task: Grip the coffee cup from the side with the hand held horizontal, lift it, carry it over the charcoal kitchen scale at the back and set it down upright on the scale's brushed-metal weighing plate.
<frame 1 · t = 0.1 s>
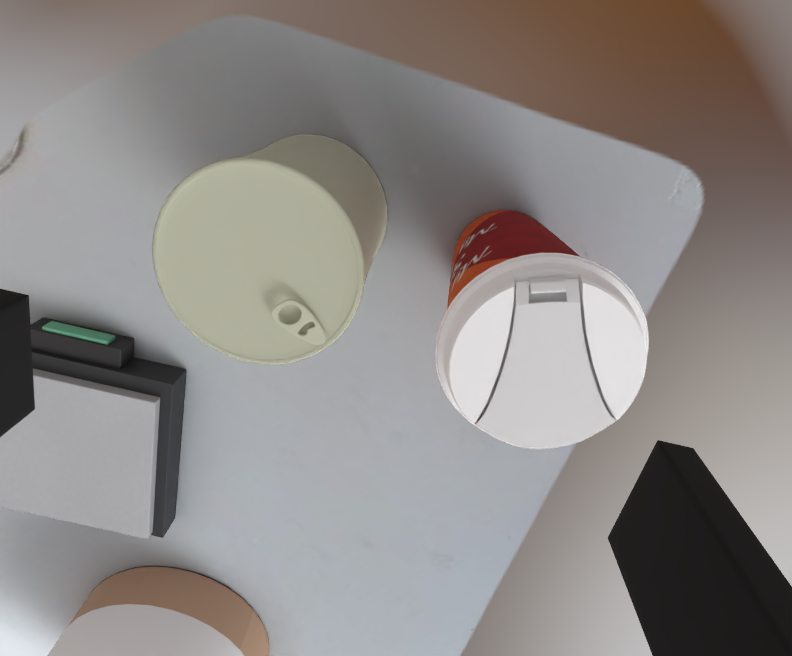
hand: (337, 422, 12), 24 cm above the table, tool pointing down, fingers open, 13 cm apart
scale: (89, 427, 41), on the table
coffee cup: (501, 257, 34), on the table
can: (313, 212, 34), on the table
bowl: (178, 633, 50), on the table
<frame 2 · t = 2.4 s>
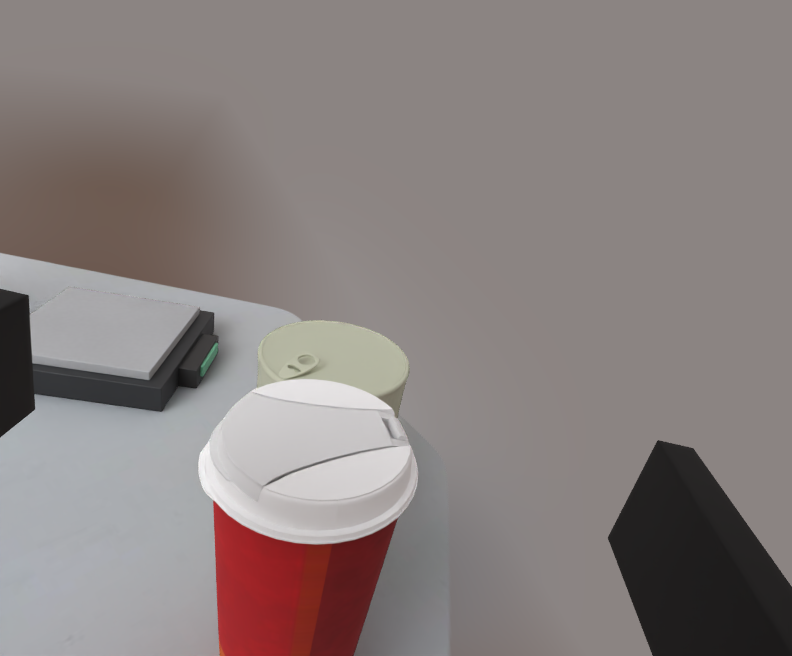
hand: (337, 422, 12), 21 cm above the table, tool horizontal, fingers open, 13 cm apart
scale: (111, 354, 49), on the table
can: (314, 499, 38), on the table
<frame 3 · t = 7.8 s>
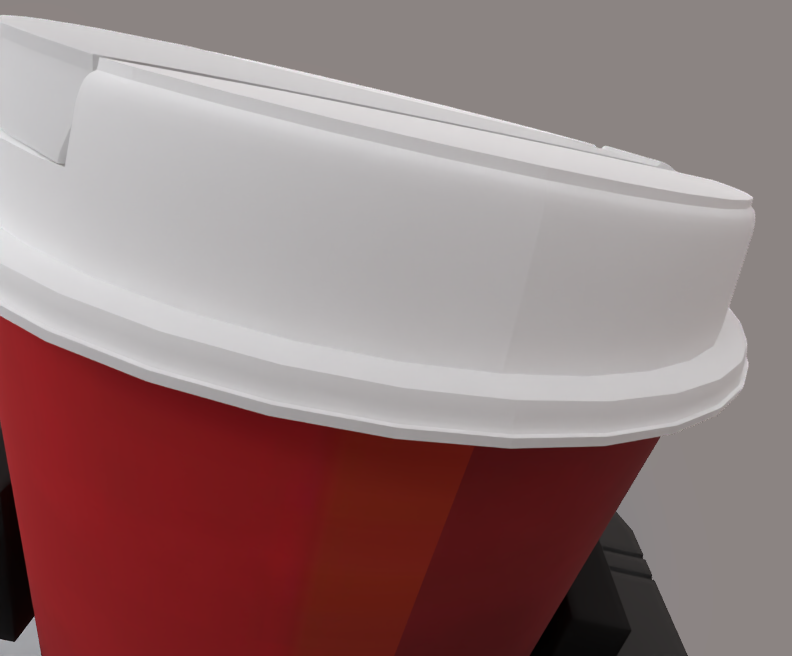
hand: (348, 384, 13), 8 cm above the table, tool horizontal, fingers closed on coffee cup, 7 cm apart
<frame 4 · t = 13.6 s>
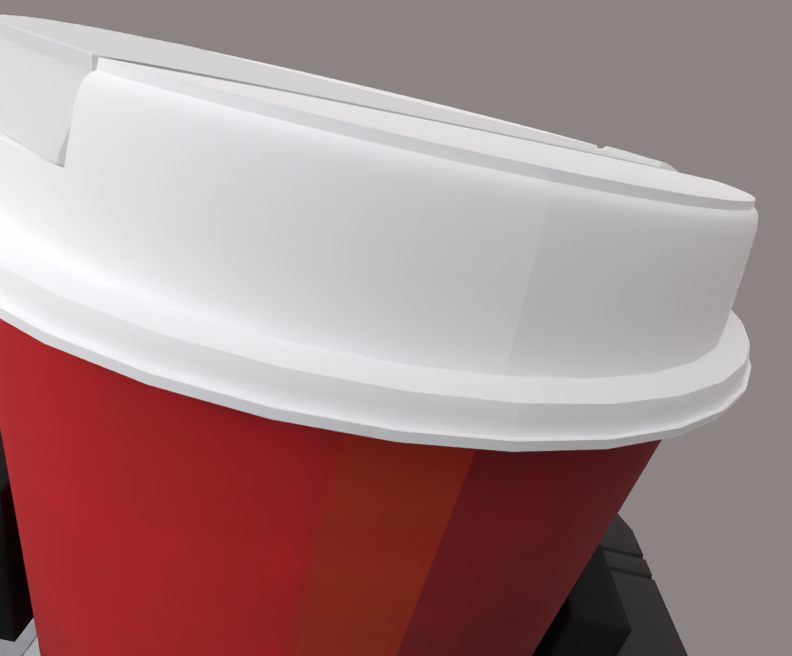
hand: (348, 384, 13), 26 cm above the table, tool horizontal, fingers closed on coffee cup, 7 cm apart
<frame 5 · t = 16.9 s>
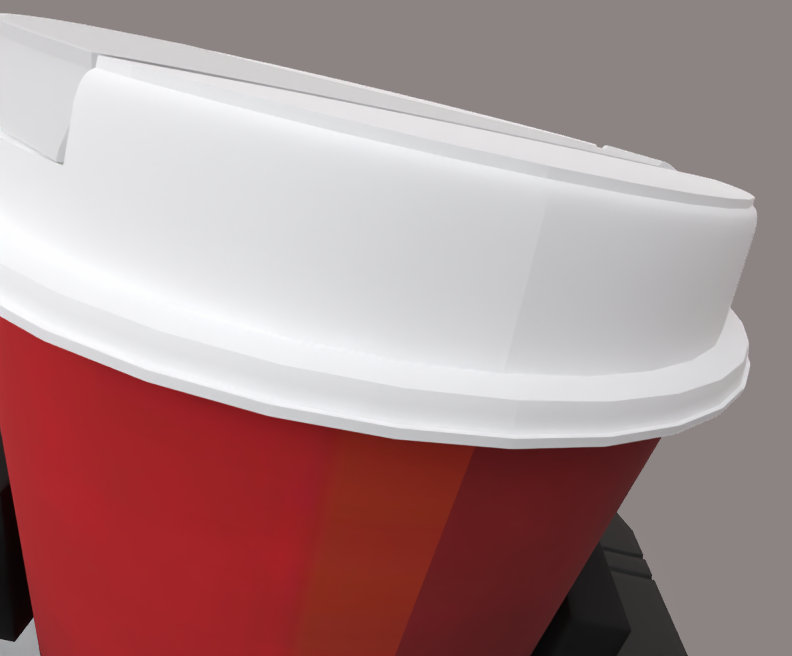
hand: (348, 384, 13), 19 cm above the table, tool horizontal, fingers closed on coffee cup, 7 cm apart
when the fingers open (11 cm above the table, at t = 19.4 s): coffee cup stays where it is, resting on scale.
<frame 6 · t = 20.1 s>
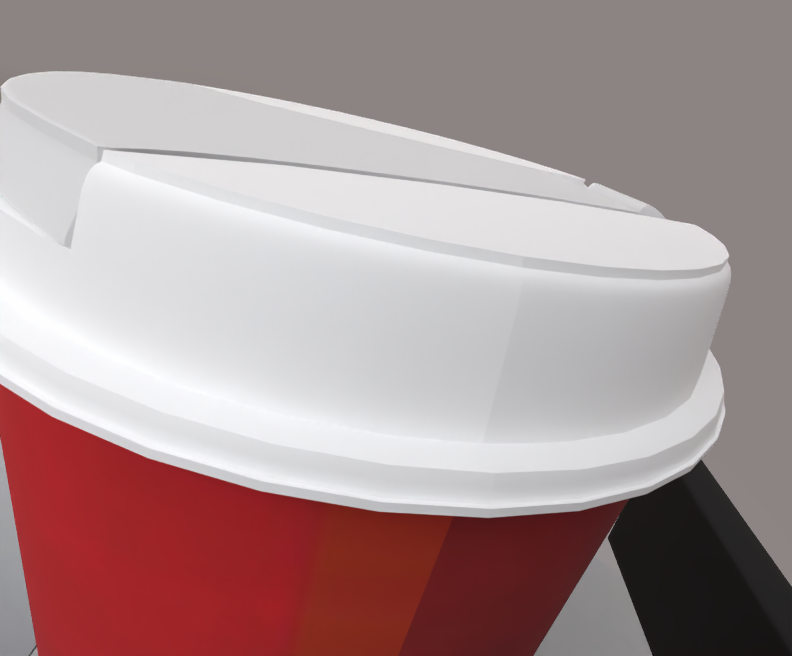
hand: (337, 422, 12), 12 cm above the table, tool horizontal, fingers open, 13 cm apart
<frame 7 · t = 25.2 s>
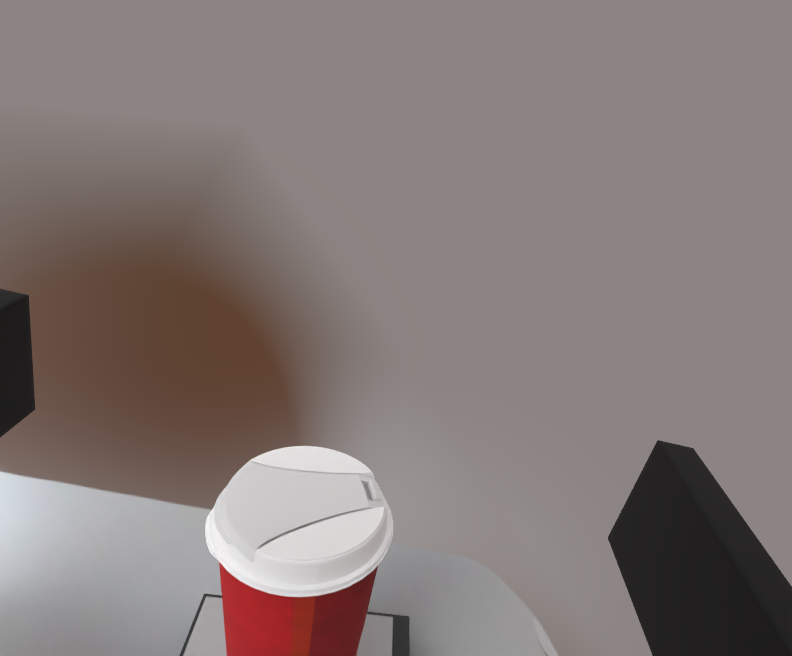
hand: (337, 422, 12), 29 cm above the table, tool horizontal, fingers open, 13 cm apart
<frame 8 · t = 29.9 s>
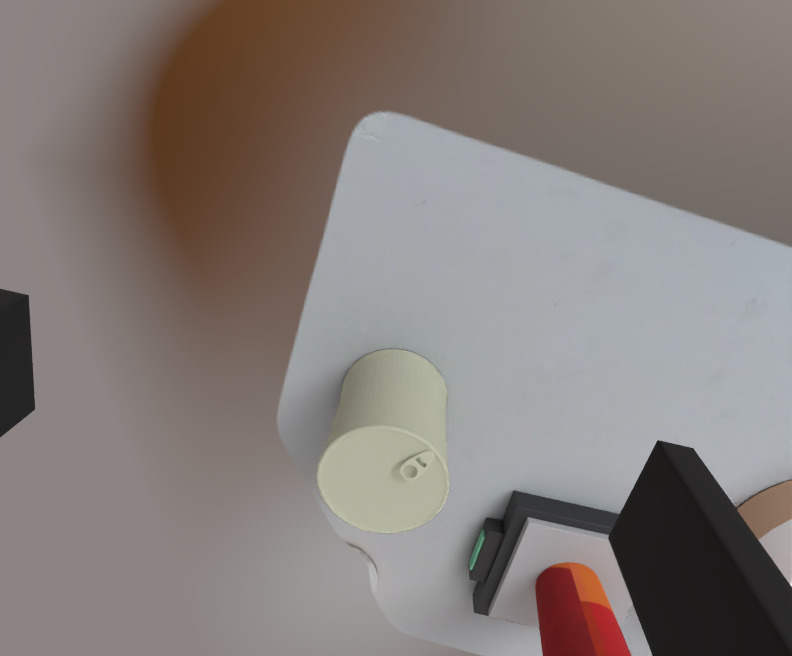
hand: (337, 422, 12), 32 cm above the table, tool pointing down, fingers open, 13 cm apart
scale: (560, 560, 54), on the table
coffee cup: (567, 583, 52), point 3 cm above the table, touching scale
can: (394, 394, 48), on the table
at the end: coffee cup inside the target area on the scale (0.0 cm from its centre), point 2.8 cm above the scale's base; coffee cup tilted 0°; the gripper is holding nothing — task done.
